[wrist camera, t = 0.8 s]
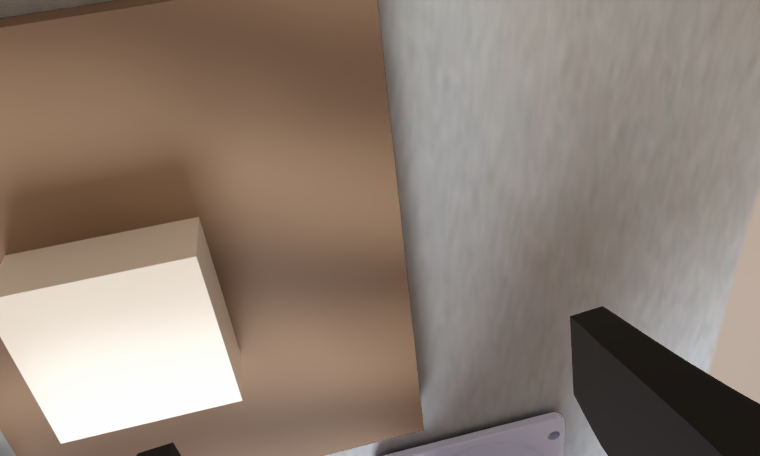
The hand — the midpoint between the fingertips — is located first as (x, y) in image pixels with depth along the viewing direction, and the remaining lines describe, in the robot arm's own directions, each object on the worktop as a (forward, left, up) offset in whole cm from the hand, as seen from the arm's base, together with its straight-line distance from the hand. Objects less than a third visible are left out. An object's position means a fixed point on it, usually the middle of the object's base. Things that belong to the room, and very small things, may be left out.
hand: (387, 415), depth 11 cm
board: (-2, +4, -9) cm, 10 cm away
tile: (-2, +6, -8) cm, 10 cm away
